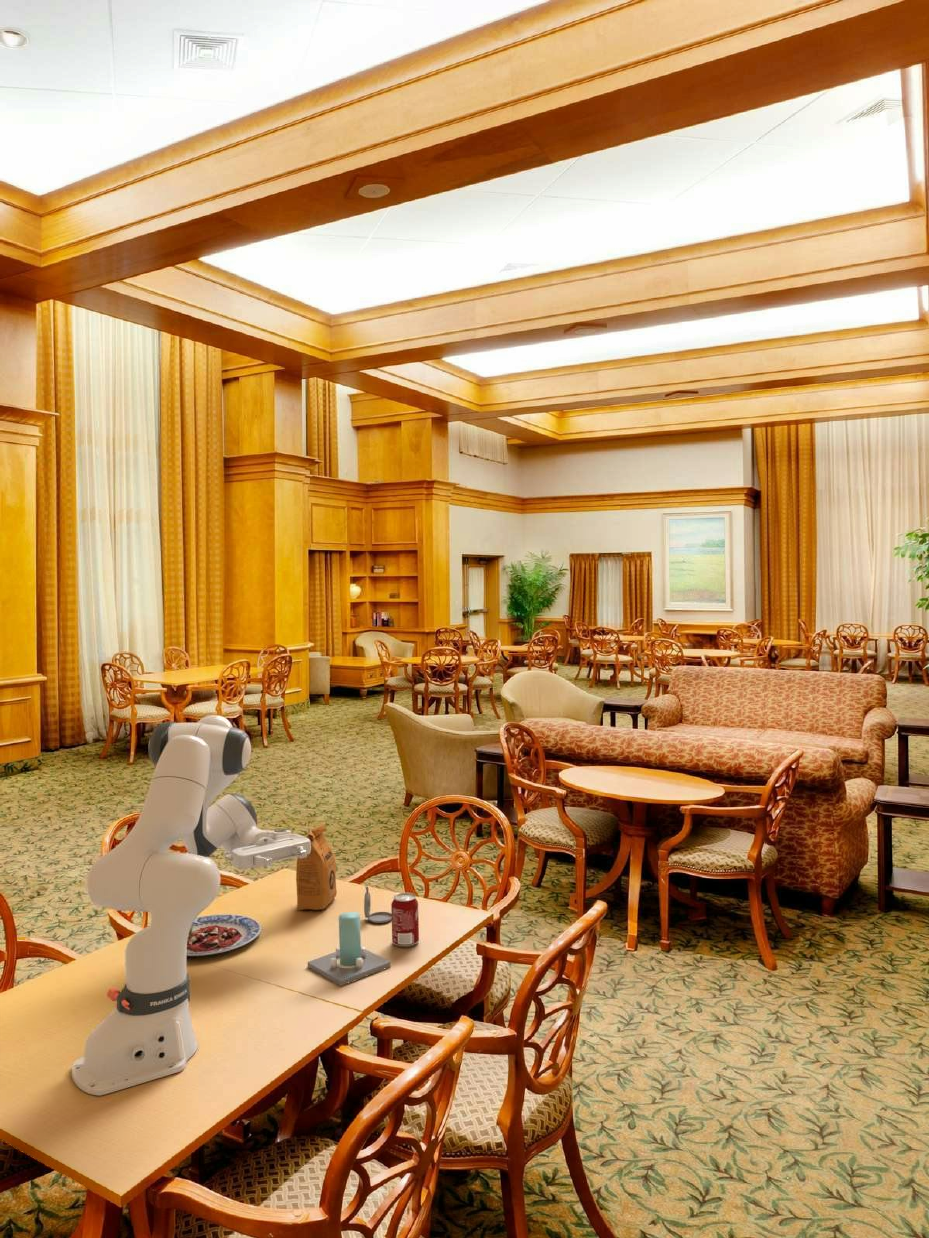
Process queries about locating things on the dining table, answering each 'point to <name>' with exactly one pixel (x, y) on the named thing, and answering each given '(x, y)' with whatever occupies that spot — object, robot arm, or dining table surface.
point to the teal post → (349, 938)
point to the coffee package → (316, 874)
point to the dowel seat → (344, 974)
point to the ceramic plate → (220, 934)
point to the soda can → (405, 920)
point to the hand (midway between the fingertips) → (287, 858)
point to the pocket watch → (377, 916)
